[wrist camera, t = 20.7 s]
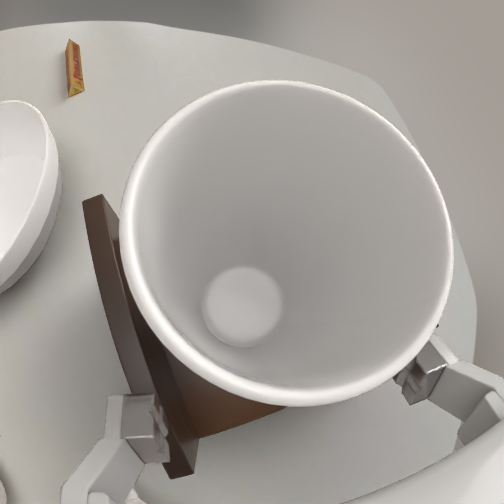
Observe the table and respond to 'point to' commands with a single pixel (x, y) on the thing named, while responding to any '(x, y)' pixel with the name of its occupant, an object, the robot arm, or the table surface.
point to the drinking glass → (286, 243)
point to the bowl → (25, 188)
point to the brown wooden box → (159, 355)
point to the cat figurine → (2, 494)
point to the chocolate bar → (73, 69)
